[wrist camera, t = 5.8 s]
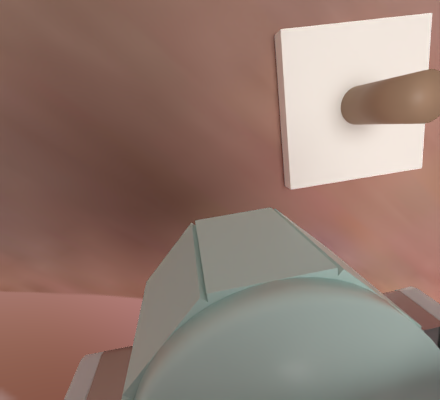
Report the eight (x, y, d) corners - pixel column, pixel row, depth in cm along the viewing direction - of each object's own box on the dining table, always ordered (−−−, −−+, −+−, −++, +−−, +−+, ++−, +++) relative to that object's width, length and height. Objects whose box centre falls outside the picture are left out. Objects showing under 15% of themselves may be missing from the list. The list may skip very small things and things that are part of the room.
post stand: (274, 35, 23) (324, -16, 15) (417, 19, 24) (536, -36, 16) (284, 186, 27) (330, 212, 18) (409, 165, 28) (504, 182, 20)
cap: (132, 231, 9) (78, 352, 4) (326, 197, 9) (472, 269, 5) (170, 388, 10) (162, 597, 6) (330, 351, 11) (438, 513, 6)
